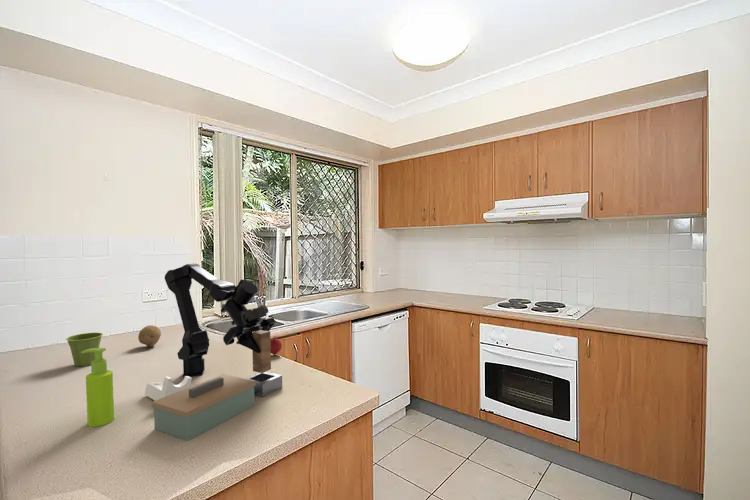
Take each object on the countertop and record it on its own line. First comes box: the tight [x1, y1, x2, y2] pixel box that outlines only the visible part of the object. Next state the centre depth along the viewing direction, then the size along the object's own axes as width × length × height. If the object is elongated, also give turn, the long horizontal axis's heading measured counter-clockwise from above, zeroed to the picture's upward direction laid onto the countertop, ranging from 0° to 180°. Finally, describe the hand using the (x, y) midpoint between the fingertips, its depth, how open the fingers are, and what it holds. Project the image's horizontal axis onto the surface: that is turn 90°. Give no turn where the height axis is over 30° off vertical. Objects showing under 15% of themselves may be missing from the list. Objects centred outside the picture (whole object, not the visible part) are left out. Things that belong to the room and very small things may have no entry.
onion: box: [270, 335, 282, 356], centre depth 162 cm, size 6×6×8 cm
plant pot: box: [65, 332, 104, 367], centre depth 153 cm, size 12×12×11 cm
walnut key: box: [251, 330, 272, 373], centre depth 125 cm, size 4×4×12 cm
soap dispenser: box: [81, 347, 115, 428], centre depth 104 cm, size 6×7×20 cm
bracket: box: [144, 376, 193, 401], centre depth 120 cm, size 13×7×8 cm, turn 52°
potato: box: [137, 324, 162, 348], centre depth 177 cm, size 9×9×10 cm
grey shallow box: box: [244, 371, 283, 398], centre depth 125 cm, size 9×9×4 cm
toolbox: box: [151, 373, 255, 442], centre depth 109 cm, size 14×28×9 cm, turn 152°
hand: (264, 350), depth 124 cm, fingers closed on walnut key, 4 cm apart
